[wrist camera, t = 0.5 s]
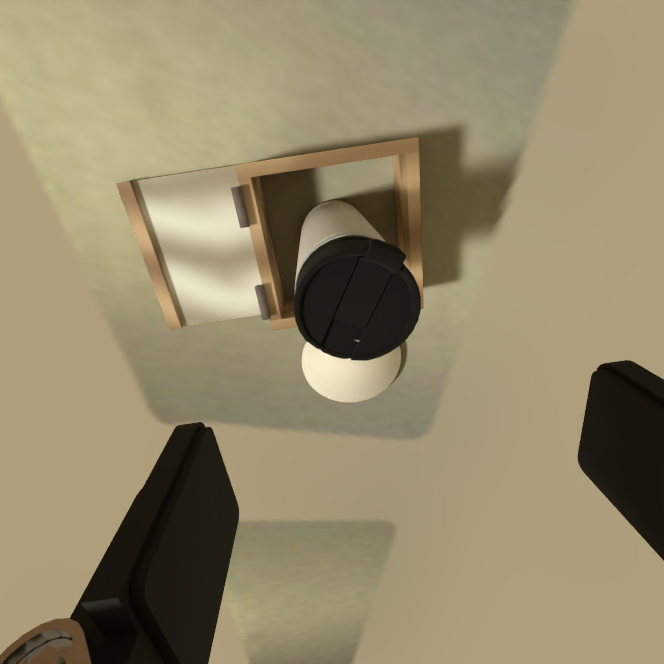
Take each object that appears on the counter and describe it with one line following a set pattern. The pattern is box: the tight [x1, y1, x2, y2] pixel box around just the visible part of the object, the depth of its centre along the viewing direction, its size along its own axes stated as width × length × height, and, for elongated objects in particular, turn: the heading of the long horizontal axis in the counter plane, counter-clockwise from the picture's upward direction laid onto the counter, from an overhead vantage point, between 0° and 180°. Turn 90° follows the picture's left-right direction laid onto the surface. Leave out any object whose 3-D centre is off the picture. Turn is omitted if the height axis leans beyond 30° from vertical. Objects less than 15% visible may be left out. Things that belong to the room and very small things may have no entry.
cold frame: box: [116, 137, 424, 330], centre depth 32 cm, size 14×25×6 cm, turn 98°
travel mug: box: [294, 200, 421, 361], centre depth 26 cm, size 6×7×20 cm
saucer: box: [302, 341, 401, 402], centre depth 41 cm, size 11×11×1 cm
